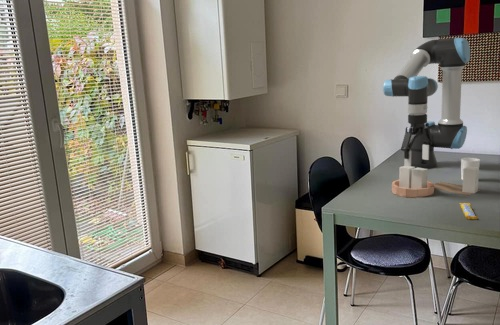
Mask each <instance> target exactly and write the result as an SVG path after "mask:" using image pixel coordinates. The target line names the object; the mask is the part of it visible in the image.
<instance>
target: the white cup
mask: <svg viewBox="0 0 500 325" xmlns="http://www.w3.org/2000/svg"><path fill="white" fill-rule="evenodd" d="M480 164H481V159H480V158H477V157H463V158H462V157H461V159H460V174H461V178H460V179H461V180H462V181H463V169H464V168H466V167H475V168H479V169H480Z"/></svg>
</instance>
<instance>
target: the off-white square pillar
mask: <svg viewBox="0 0 500 325" xmlns="http://www.w3.org/2000/svg"><path fill="white" fill-rule="evenodd" d="M479 173H480V167H479V168H475V167H466V168H464V169H463V180H462V186H463V189H462V192H468V193H473V194H475V193H477V191H478V189H479V178H480V177H479V176H480V174H479ZM478 192H479V191H478Z"/></svg>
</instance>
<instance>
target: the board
mask: <svg viewBox="0 0 500 325" xmlns="http://www.w3.org/2000/svg"><path fill="white" fill-rule="evenodd" d="M462 189H463V185H461V184H456V183H451V182H450V183H449V182H446V181H438V182H436V183H434V190H438V191H443V192H450V193H454V194H458V195H464V196H470V195H472V194H474V193H468V192H462ZM482 190H483V188H478V191H477V192H479V191H482ZM477 192H476V193H477Z"/></svg>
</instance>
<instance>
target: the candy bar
mask: <svg viewBox="0 0 500 325" xmlns="http://www.w3.org/2000/svg"><path fill="white" fill-rule="evenodd" d="M458 203H459V207H460V208H461V211H462V213H463V215H464V217H465V219H466V220H479V216H476V214H475V212H474V210H473V209H472V206H471V205H472V204H471V203H470V202H462V203H461V202H458Z"/></svg>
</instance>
